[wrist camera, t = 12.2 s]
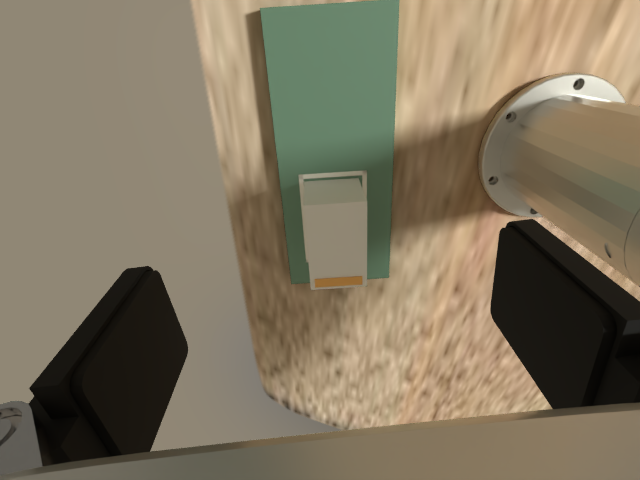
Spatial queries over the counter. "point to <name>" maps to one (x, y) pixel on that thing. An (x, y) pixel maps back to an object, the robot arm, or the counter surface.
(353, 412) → the counter surface
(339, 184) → the plug cap
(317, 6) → the header board
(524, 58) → the counter surface
